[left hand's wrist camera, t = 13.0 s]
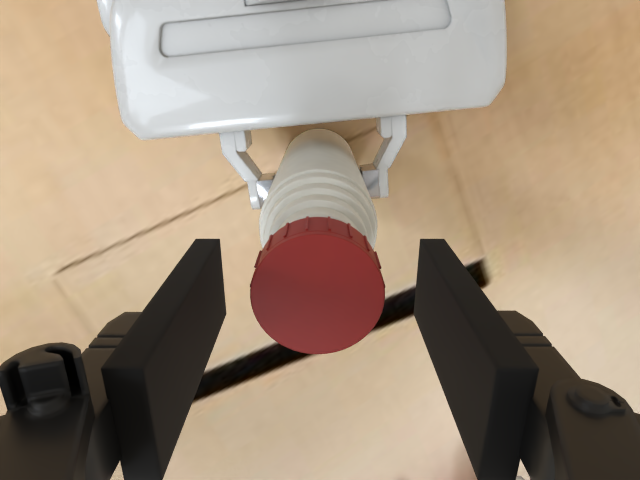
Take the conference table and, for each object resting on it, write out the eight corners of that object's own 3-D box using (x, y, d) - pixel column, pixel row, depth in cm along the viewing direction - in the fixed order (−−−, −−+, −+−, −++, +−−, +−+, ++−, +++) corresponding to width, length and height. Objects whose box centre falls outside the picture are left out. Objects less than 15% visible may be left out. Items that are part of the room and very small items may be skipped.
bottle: (362, 138, 32) (424, 235, 13) (343, 205, 34) (372, 375, 15) (292, 120, 31) (252, 192, 13) (276, 189, 33) (220, 342, 14)
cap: (396, 232, 14) (405, 252, 13) (359, 338, 16) (363, 368, 14) (271, 200, 14) (265, 217, 12) (245, 312, 15) (236, 340, 14)
